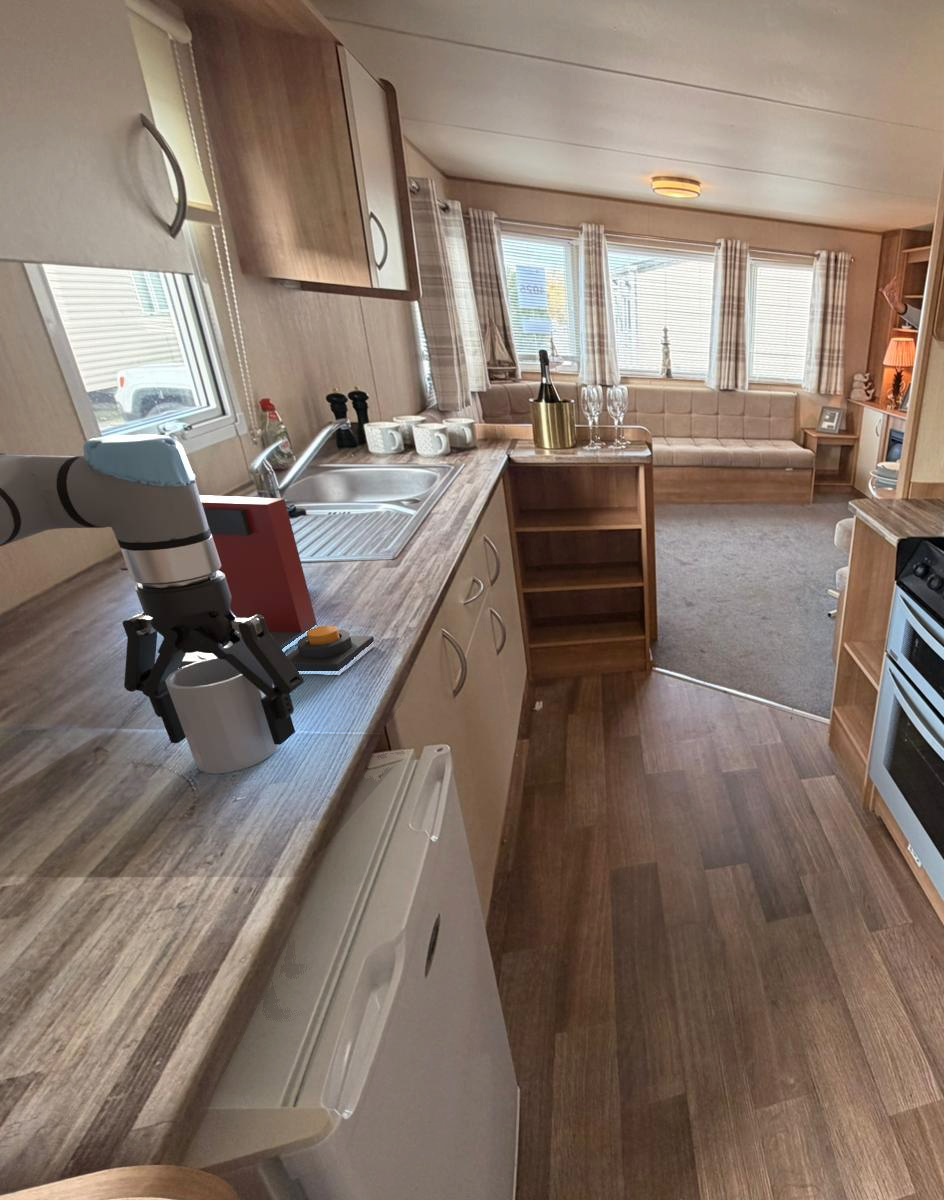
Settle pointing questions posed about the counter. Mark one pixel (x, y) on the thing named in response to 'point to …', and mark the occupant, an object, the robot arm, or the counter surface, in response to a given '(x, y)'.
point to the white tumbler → (220, 716)
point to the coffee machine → (259, 565)
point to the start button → (323, 635)
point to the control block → (328, 652)
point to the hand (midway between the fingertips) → (234, 737)
